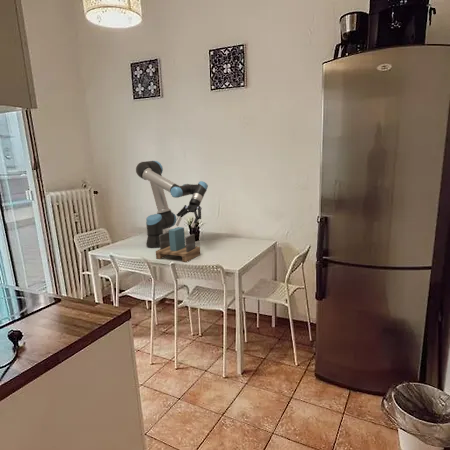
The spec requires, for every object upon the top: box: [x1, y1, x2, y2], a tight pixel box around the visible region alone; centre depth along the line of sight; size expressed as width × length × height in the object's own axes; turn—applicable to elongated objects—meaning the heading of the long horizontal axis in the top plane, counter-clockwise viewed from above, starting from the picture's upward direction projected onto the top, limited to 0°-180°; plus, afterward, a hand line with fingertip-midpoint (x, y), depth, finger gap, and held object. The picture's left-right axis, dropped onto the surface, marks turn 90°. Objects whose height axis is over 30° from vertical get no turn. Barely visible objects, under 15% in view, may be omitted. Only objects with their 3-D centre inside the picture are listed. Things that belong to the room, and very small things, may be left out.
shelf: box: [155, 231, 201, 263], centre depth 244 cm, size 24×18×16 cm
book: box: [168, 226, 186, 251], centre depth 243 cm, size 5×10×14 cm, turn 149°
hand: (184, 226), depth 248 cm, fingers open, 13 cm apart
